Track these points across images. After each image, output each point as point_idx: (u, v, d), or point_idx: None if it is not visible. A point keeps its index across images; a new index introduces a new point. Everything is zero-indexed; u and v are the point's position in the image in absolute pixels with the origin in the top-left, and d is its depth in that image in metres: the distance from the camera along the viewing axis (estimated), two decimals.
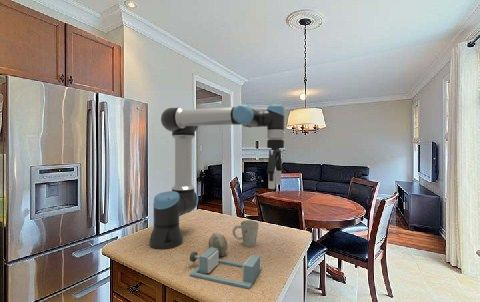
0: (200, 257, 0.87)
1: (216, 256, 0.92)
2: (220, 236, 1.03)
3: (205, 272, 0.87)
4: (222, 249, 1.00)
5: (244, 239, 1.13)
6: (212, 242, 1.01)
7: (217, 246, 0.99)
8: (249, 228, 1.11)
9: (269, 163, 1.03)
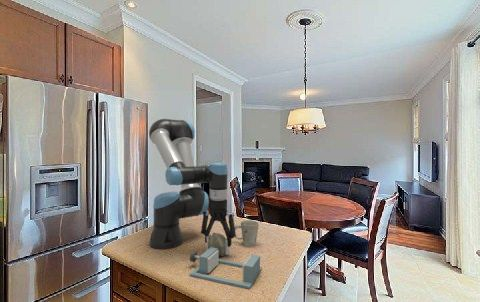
0: (200, 257, 0.87)
1: (216, 256, 0.92)
2: (220, 236, 1.03)
3: (205, 272, 0.87)
4: (222, 249, 1.00)
5: (244, 239, 1.13)
6: (212, 242, 1.00)
7: (217, 245, 0.99)
8: (249, 228, 1.11)
9: None
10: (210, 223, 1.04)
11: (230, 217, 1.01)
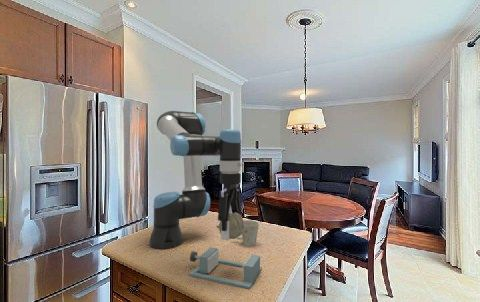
0: (200, 257, 0.87)
1: (216, 256, 0.92)
2: None
3: (205, 272, 0.87)
4: None
5: (244, 239, 1.13)
6: (240, 221, 0.86)
7: None
8: (249, 228, 1.11)
9: (220, 209, 0.82)
10: (229, 203, 0.85)
11: (239, 189, 0.94)
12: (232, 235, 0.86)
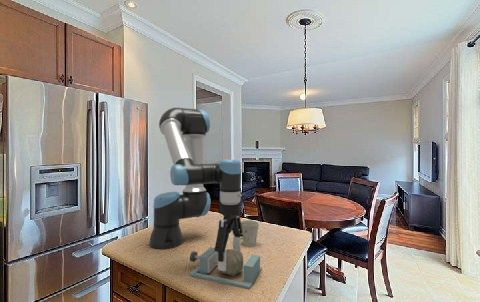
0: (200, 257, 0.87)
1: (216, 256, 0.92)
2: None
3: (205, 272, 0.87)
4: None
5: (244, 239, 1.13)
6: (239, 258, 0.86)
7: (242, 258, 0.88)
8: (249, 228, 1.11)
9: (218, 239, 0.80)
10: (228, 234, 0.84)
11: (239, 215, 0.94)
12: (231, 272, 0.85)
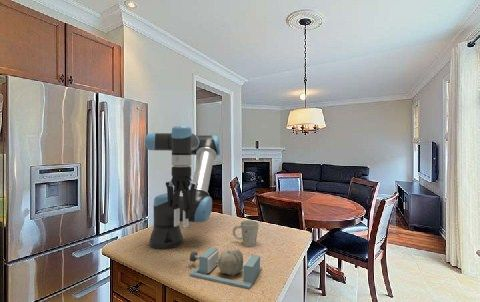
0: (200, 257, 0.87)
1: (216, 256, 0.92)
2: None
3: (205, 272, 0.87)
4: None
5: (244, 239, 1.13)
6: (239, 258, 0.86)
7: (242, 258, 0.88)
8: (249, 228, 1.11)
9: None
10: (175, 193, 0.95)
11: (192, 187, 0.92)
12: (231, 272, 0.85)
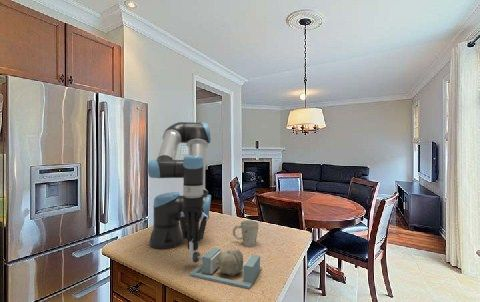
0: (203, 258, 0.87)
1: None
2: None
3: (208, 273, 0.86)
4: None
5: (244, 239, 1.13)
6: (239, 258, 0.86)
7: (242, 258, 0.88)
8: (249, 228, 1.11)
9: None
10: (188, 225, 0.93)
11: (203, 219, 0.90)
12: (231, 272, 0.85)
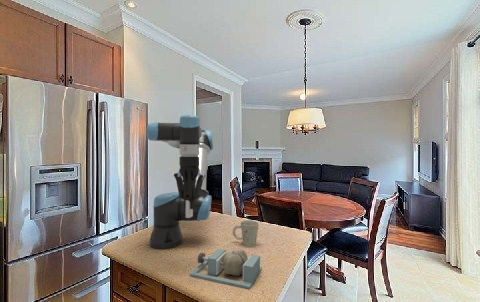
0: (208, 259, 0.86)
1: None
2: None
3: (214, 274, 0.86)
4: None
5: (244, 239, 1.13)
6: (244, 258, 0.86)
7: (247, 258, 0.88)
8: (249, 228, 1.11)
9: None
10: (184, 184, 0.93)
11: (200, 178, 0.91)
12: (237, 273, 0.85)
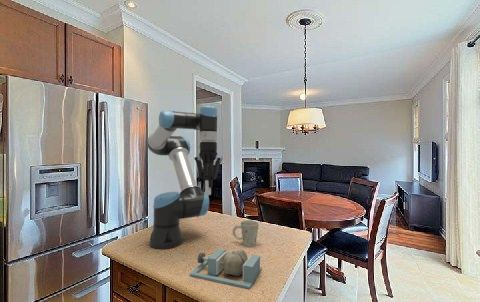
0: (208, 259, 0.86)
1: None
2: None
3: (214, 274, 0.86)
4: None
5: (244, 239, 1.13)
6: (244, 258, 0.86)
7: (247, 258, 0.88)
8: (249, 228, 1.11)
9: None
10: (204, 166, 1.07)
11: (218, 160, 1.05)
12: (237, 273, 0.85)
